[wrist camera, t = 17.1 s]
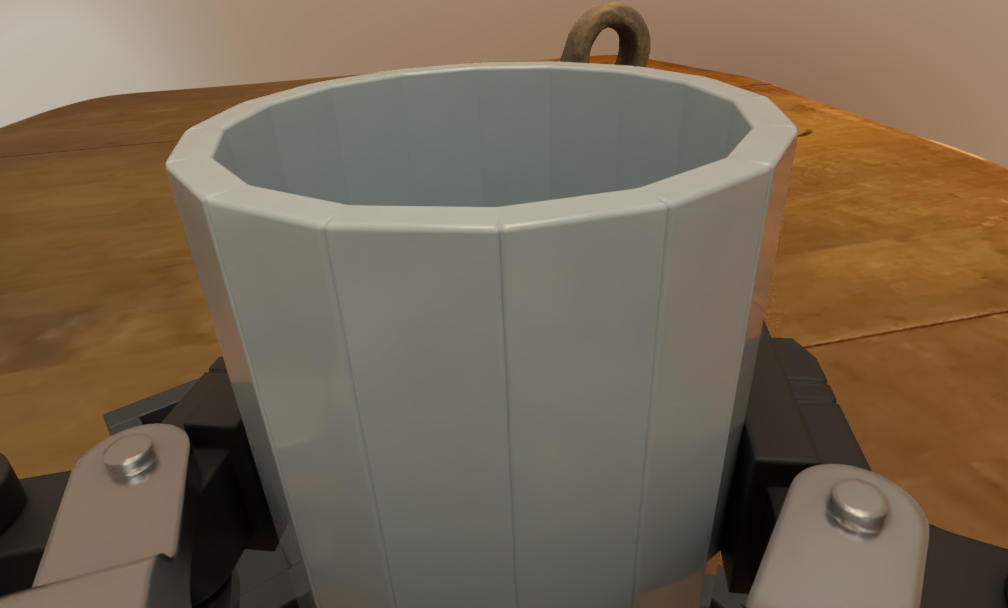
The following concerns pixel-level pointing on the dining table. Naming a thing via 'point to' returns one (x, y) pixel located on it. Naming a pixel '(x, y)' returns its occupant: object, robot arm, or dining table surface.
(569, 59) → the bowl
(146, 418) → the tray
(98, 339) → the dining table surface
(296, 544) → the tumbler
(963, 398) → the dining table surface
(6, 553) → the robot arm
